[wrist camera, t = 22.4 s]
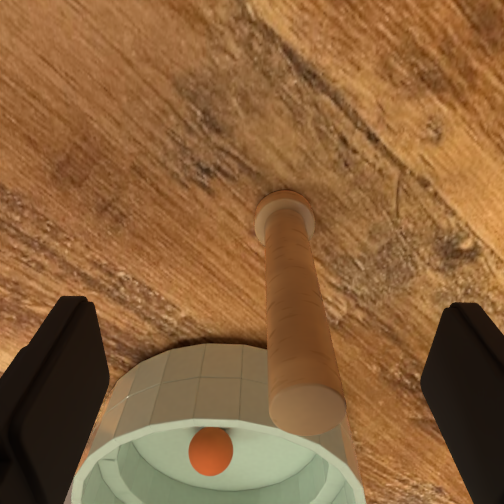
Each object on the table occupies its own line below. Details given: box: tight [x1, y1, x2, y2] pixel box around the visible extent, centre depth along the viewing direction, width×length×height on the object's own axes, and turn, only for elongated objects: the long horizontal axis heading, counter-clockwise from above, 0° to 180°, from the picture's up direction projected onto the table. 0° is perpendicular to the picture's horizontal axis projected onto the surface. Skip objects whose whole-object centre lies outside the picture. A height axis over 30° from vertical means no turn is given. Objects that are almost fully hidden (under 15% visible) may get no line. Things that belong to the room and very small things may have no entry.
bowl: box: [71, 343, 366, 504], centre depth 26 cm, size 17×17×6 cm
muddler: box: [254, 190, 346, 436], centre depth 16 cm, size 3×3×12 cm
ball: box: [188, 427, 233, 476], centre depth 27 cm, size 3×3×3 cm
